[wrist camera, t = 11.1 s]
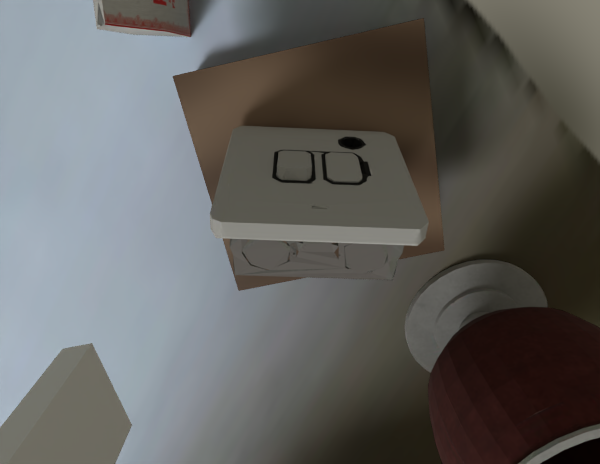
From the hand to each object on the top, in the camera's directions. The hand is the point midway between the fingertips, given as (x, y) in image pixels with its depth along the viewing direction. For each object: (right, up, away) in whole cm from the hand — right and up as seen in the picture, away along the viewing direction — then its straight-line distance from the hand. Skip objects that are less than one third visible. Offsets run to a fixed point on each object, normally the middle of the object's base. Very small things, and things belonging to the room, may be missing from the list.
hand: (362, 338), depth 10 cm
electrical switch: (-1, +6, +15) cm, 17 cm away
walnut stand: (0, +9, +21) cm, 23 cm away
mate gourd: (+13, -6, +27) cm, 31 cm away
